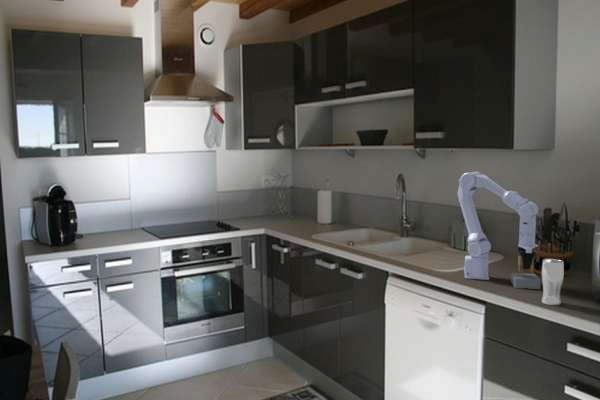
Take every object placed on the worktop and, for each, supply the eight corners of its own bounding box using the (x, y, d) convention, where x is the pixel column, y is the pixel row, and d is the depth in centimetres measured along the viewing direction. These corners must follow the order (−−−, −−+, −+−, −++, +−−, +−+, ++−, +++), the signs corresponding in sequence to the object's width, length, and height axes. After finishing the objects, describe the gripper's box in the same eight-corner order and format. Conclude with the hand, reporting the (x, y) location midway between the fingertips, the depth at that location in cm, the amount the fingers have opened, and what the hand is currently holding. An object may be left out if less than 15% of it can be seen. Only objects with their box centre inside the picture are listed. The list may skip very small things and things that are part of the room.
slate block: (515, 288, 198) (515, 278, 198) (510, 282, 207) (510, 272, 207) (540, 289, 196) (540, 279, 196) (534, 283, 205) (534, 273, 205)
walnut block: (519, 273, 199) (519, 257, 199) (517, 270, 204) (518, 255, 204) (533, 273, 198) (533, 258, 197) (531, 270, 203) (531, 255, 202)
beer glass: (564, 302, 180) (566, 260, 179) (558, 307, 175) (560, 264, 173) (543, 298, 185) (545, 257, 183) (537, 303, 180) (539, 261, 178)
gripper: (541, 237, 191) (539, 272, 193) (535, 230, 205) (534, 263, 207) (520, 236, 193) (519, 271, 195) (516, 229, 207) (515, 262, 209)
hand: (525, 267), depth 201 cm, fingers closed on walnut block, 5 cm apart
